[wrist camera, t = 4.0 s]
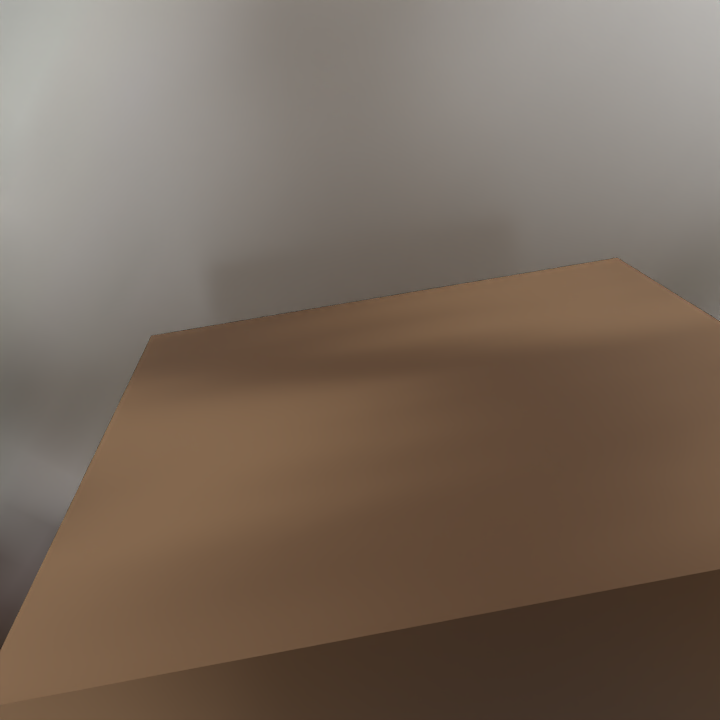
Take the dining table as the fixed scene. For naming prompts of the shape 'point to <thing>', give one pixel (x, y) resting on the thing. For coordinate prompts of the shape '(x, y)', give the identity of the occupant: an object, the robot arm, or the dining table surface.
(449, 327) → the walnut block
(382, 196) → the dining table surface
